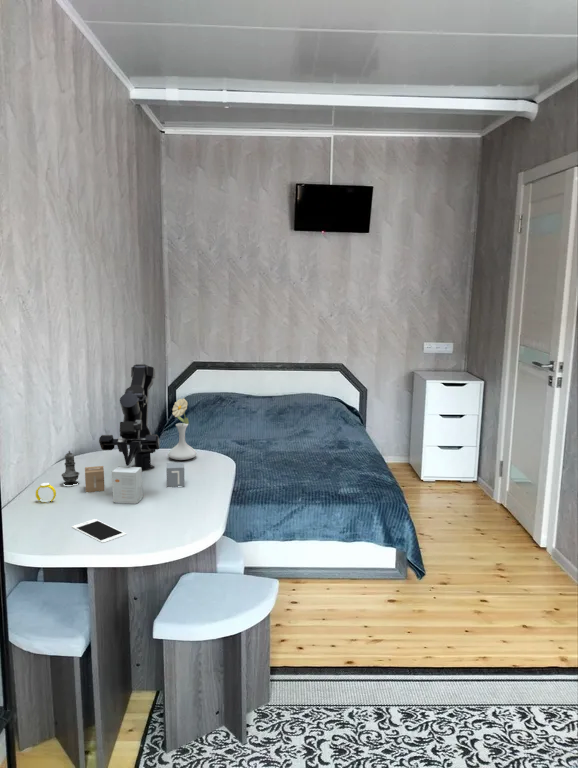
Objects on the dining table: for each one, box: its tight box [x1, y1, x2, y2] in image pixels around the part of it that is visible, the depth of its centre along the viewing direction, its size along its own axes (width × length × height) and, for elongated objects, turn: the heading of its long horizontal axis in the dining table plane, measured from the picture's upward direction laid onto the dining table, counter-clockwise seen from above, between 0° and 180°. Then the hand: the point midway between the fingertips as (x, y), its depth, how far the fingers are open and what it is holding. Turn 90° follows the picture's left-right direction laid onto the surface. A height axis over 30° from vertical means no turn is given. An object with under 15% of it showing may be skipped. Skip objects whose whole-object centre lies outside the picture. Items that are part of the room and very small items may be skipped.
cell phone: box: [71, 518, 127, 544], centre depth 171 cm, size 8×16×1 cm, turn 50°
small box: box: [111, 465, 144, 505], centre depth 194 cm, size 8×6×10 cm
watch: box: [35, 482, 57, 502], centre depth 192 cm, size 6×3×6 cm, turn 92°
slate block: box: [165, 462, 186, 488], centre depth 210 cm, size 6×6×7 cm
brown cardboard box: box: [84, 465, 105, 493], centre depth 204 cm, size 6×6×7 cm
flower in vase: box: [167, 397, 198, 461], centre depth 238 cm, size 13×11×25 cm
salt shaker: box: [61, 450, 80, 485], centre depth 208 cm, size 6×6×12 cm
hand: (127, 465), depth 194 cm, fingers closed
